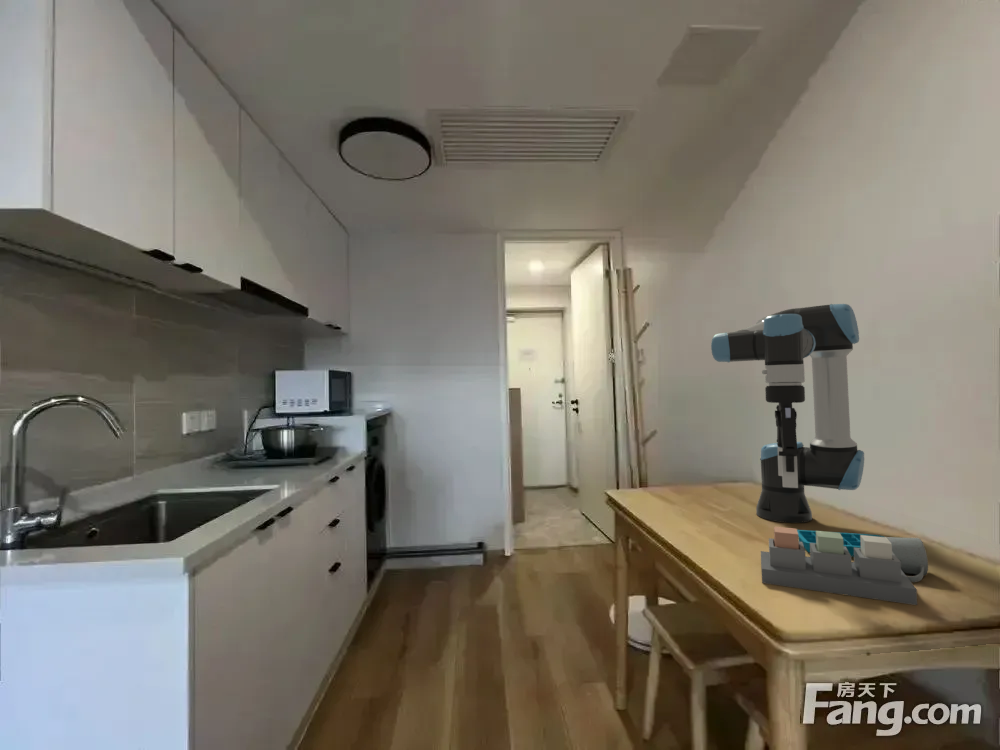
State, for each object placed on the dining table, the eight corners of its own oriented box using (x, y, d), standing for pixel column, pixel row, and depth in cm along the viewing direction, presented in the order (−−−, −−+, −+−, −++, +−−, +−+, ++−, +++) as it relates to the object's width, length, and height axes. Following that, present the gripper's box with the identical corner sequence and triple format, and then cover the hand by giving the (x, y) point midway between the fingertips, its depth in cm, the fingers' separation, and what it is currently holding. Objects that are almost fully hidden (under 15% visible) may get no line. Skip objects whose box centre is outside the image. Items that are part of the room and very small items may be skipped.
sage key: (816, 551, 108) (815, 530, 108) (840, 553, 106) (839, 532, 106) (818, 557, 104) (818, 536, 104) (844, 560, 102) (843, 538, 102)
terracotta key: (774, 546, 111) (773, 526, 111) (797, 549, 109) (796, 528, 109) (775, 552, 107) (774, 531, 108) (799, 555, 105) (798, 534, 106)
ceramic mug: (874, 563, 115) (872, 530, 115) (918, 567, 111) (917, 534, 111) (886, 580, 105) (885, 544, 105) (935, 586, 102) (934, 549, 102)
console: (761, 563, 116) (760, 534, 116) (900, 581, 104) (898, 548, 104) (762, 582, 105) (761, 549, 105) (917, 605, 93) (915, 568, 94)
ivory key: (861, 556, 104) (860, 534, 104) (887, 559, 102) (886, 537, 102) (865, 563, 100) (864, 541, 100) (892, 566, 98) (891, 543, 98)
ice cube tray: (793, 540, 133) (793, 529, 133) (882, 546, 127) (882, 535, 127) (805, 555, 122) (805, 543, 122) (903, 562, 116) (903, 549, 116)
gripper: (763, 384, 122) (765, 470, 121) (767, 385, 99) (771, 491, 99) (798, 383, 118) (801, 472, 118) (811, 384, 96) (815, 494, 96)
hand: (787, 481), depth 108 cm, fingers open, 13 cm apart
